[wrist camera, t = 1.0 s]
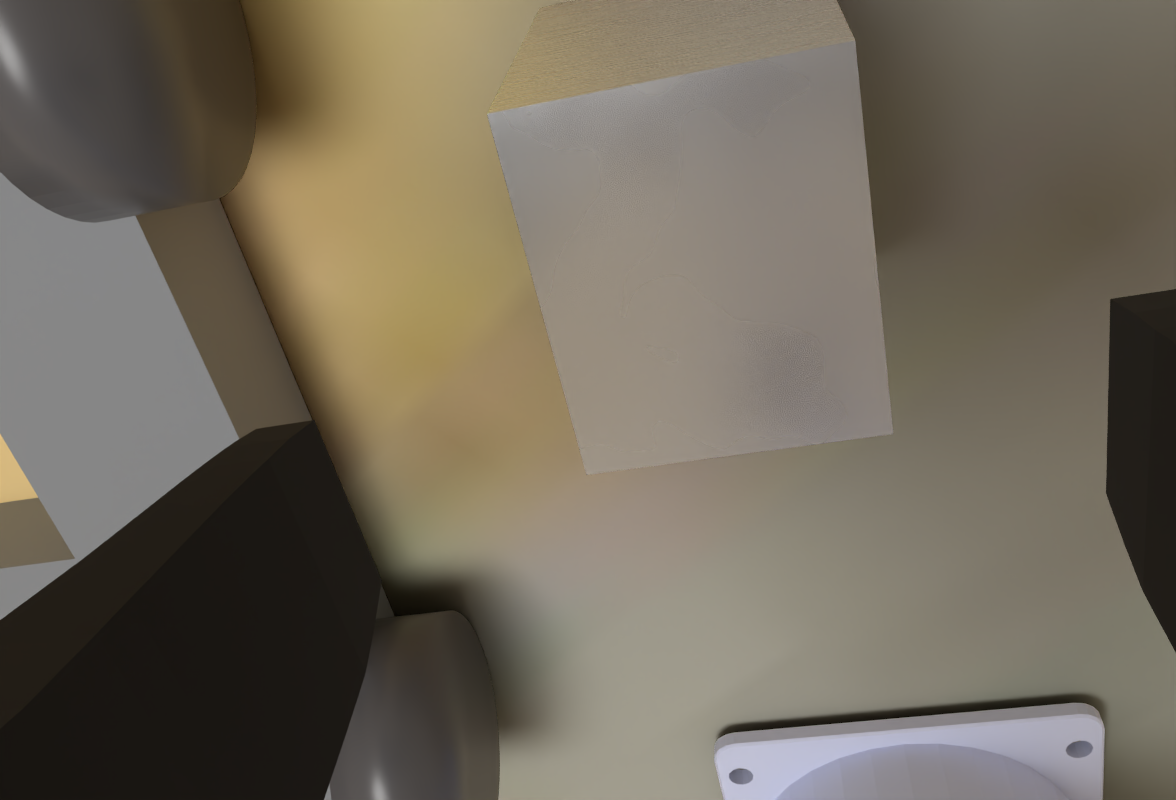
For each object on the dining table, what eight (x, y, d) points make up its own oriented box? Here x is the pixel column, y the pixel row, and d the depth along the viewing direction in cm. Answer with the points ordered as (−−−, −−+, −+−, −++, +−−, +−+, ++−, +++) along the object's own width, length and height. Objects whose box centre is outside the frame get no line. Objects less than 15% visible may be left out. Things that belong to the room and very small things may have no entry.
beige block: (847, 264, 18) (893, 433, 14) (610, 302, 19) (586, 474, 15) (812, -52, 16) (856, 40, 11) (540, 7, 16) (486, 114, 12)
